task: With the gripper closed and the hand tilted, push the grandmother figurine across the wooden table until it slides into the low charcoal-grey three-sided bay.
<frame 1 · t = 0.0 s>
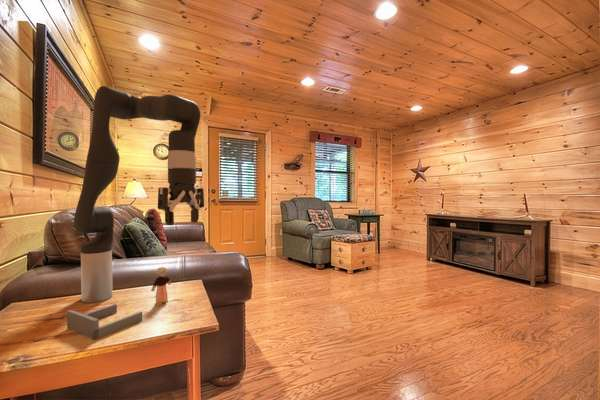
hand: (182, 223, 83), 29 cm above the table, tool pointing down, fingers open, 8 cm apart
grandmother figurine: (162, 303, 99), on the table
charcoal bay: (107, 323, 83), on the table
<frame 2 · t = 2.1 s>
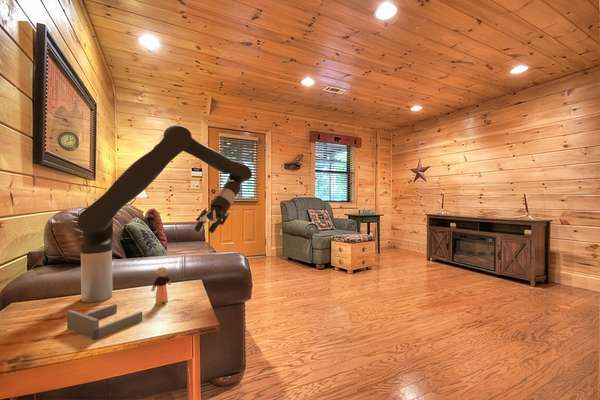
hand: (203, 231, 114), 23 cm above the table, tool tilted 45°, fingers open, 8 cm apart
nothing on the table moved.
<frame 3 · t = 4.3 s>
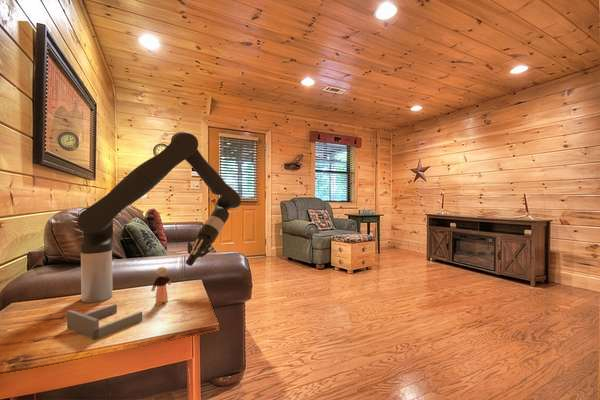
hand: (188, 264, 109), 11 cm above the table, tool tilted 45°, fingers closed
nothing on the table moved.
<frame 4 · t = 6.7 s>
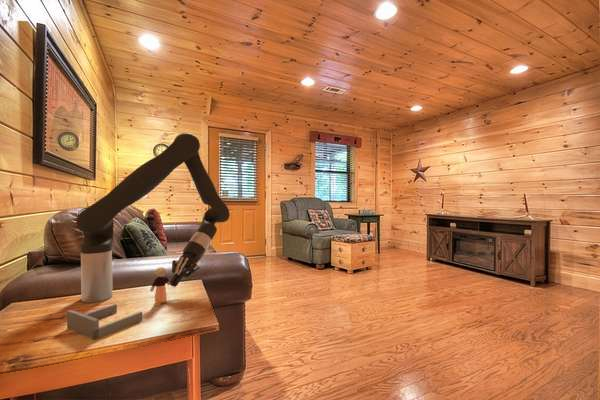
hand: (172, 285, 103), 5 cm above the table, tool tilted 45°, fingers closed
grandmother figurine: (161, 303, 99), on the table, touching gripper
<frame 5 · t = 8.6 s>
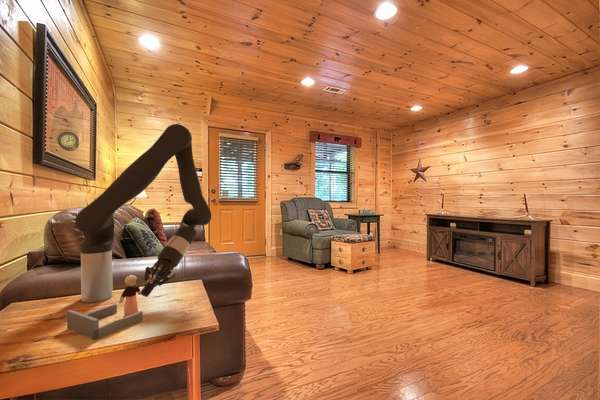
hand: (143, 295, 93), 5 cm above the table, tool tilted 45°, fingers closed
grandmother figurine: (131, 315, 89), on the table, touching gripper
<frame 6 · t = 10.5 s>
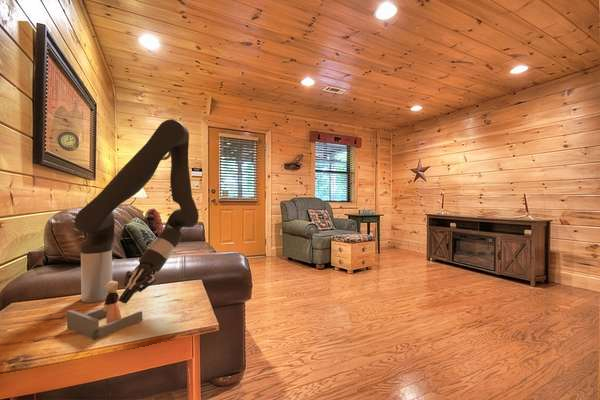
hand: (121, 302, 87), 5 cm above the table, tool tilted 45°, fingers closed
grandmother figurine: (113, 324, 83), on the table, touching gripper
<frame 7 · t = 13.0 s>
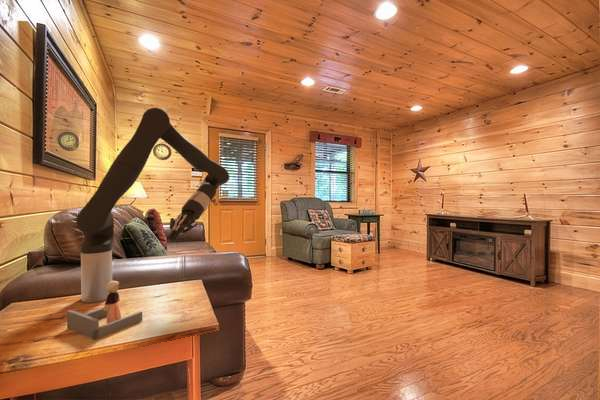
hand: (169, 240, 102), 21 cm above the table, tool tilted 45°, fingers closed
grandmother figurine: (113, 324, 83), on the table
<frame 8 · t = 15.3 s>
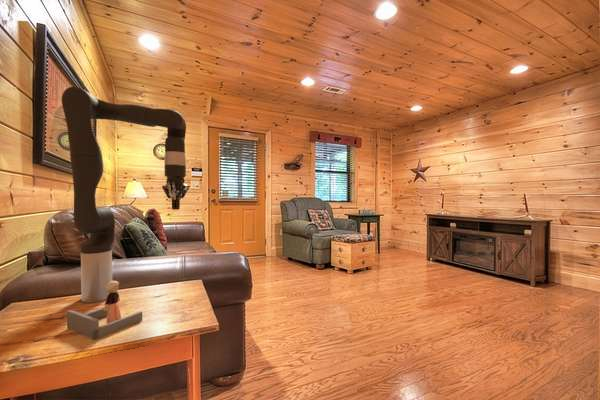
hand: (175, 209, 110), 32 cm above the table, tool pointing down, fingers closed
nothing on the table moved.
at the end: grandmother figurine inside the target area on the charcoal bay (2.6 cm from its centre), point 0.0 cm above the charcoal bay's base; grandmother figurine tilted 0° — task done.
